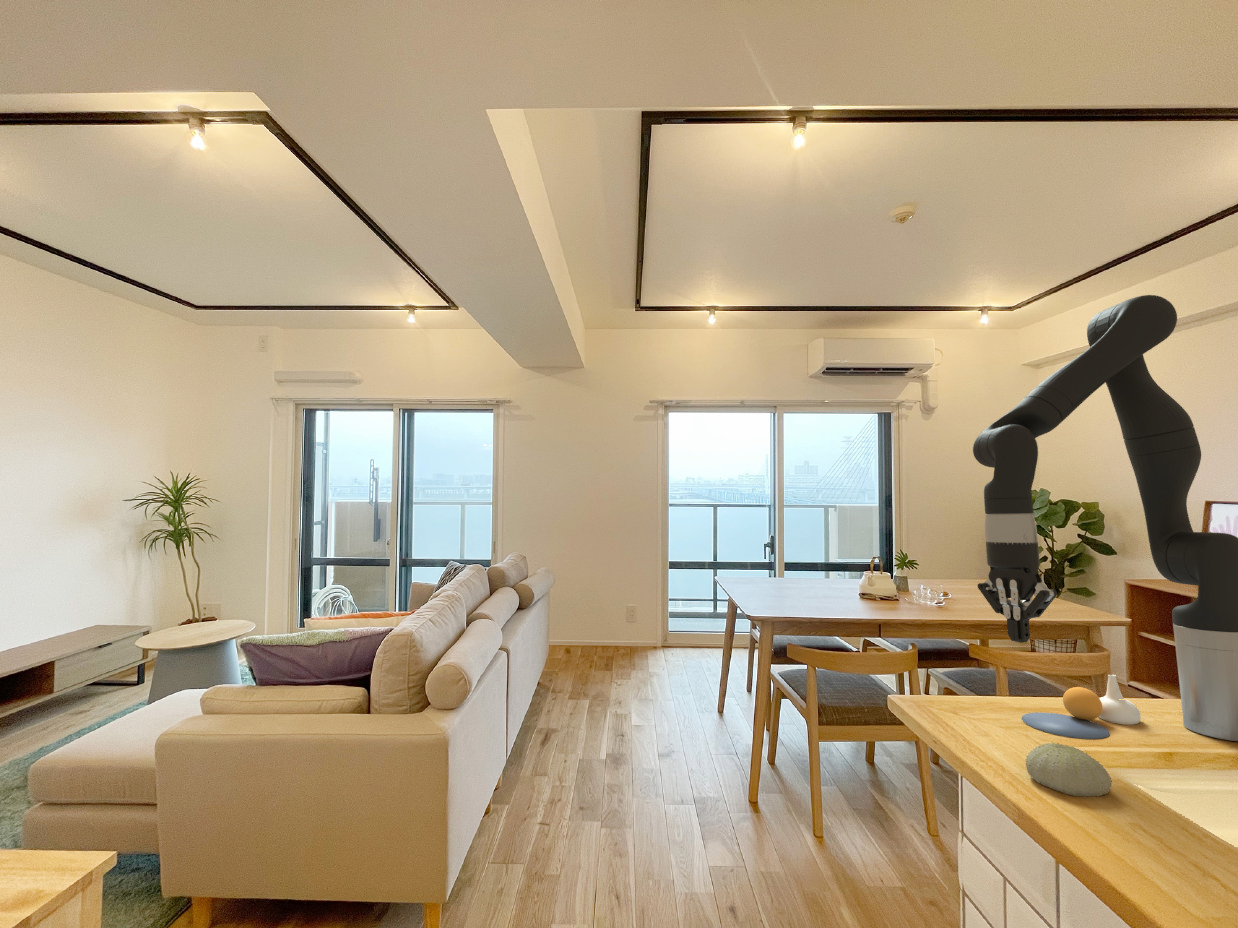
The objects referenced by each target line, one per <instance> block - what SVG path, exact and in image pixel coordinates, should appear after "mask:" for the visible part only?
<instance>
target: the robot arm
mask: <svg viewBox="0 0 1238 928" xmlns="http://www.w3.org/2000/svg"><path fill="white" fill-rule="evenodd" d="M1177 323H1178V314H1177V310H1176V308H1175V306H1174V305H1173V303H1172V302H1171V301H1169V300H1168V299H1167V298H1165V297H1162V296H1159V295H1156V294H1155V295H1154V294H1146V295H1145V294H1144V295H1140V296H1135V297H1133V298H1129V299H1126V300H1124V301H1122V302H1120V303H1117V304H1115V305H1112V306H1110V307H1108V308H1106V309H1103V310H1102V311H1099V312H1098V313H1096V314H1094V315H1093V316H1092V318H1091V319H1090V320H1089V322H1088V325H1087V326H1086V327H1087V328H1086V336H1087V337H1086V338H1087V342H1088V345H1089V347H1088V348H1087V349H1086V350H1085V351H1083V352H1082V353H1080V354H1079V355H1078V356H1077V357H1074V359H1072V360H1070V361H1069V362H1068V363H1066V364H1065V365H1063V366H1061V367H1060V368H1059V369H1058V370H1056V371H1054V372H1053V373H1052V374H1051V375H1049V376H1047V377H1046V378H1045V379H1044V380H1043V381H1041V382H1040V383H1039V384H1038V385H1037V386H1035V388H1034V389H1032V390H1031V391H1030V392H1029V393H1028V394H1027V395H1026V396H1025V397H1024V398H1023V399H1021V401H1020V402H1019V403H1018V404H1017V405H1015V407H1014V408H1012V409H1011V410H1009V411H1008V412H1007V413H1006V414H1004V415H1002V416H1000V418H998V419H997V420H995V421H994V422H993V423H991V424H990V425H989V426H987V428H985V429H984V430H982V432H981V433H979V435H978V436H977V437H976V439H975V441H974V442H973V446H972V453H973V456H974V459H975V460H976V461H977V462H978V463H979V464H981V465H982V466H984V467H987V468H993V477H992V479H991V480H990V481H988V482H987V483H986V484H985V486H984V489H983V501H984V512H985V513H984V514H985V515H984V517H985V518H984V536H985V537H984V538H985V550H986V551H985V552H986V563H987V566H989V568H990V569H989V573H988V579H986V580H985V581H984V582H979V583H977V589H978V590H979V591H980V593H981V594H982V596H983V597H984V599H985V600H986V602H988V604H989V606H990V607H991V608H992V610H993V611H994V613H996V614H1001V615H1003V616H1004V618H1005V619H1006V627H1007V634H1008V637H1009V638H1010V641H1011V642H1015V643H1020V644H1021V643H1022V644H1023V643H1027V642H1028V641H1029V640H1030V638H1031V632H1030V620H1031V619H1035V618H1036V619H1037V618H1040V617H1041V616H1042V615H1043V613H1044V612H1045V611H1046V609H1048V607H1049V606H1050V604H1052V602H1053V601H1054V600H1055V598H1056V597H1057V596H1058V592H1057V591H1056V590H1055V589H1053V588H1052V589H1049V588H1048V587H1047V586H1046V585H1045V584H1044V583H1043V582H1042V581H1043V580H1042V577H1041V575H1040V574H1039V568H1040V565H1041V564H1040V563H1041V562H1040V553H1039V552H1040V549H1039V541H1038V540H1039V539H1038V527H1037V523H1036V519H1035V514H1034V503H1033V492H1032V488H1033V484H1034V480H1035V476H1036V469H1037V465H1038V459H1039V458H1038V457H1039V448H1038V442H1037V440H1036V438H1038V437H1040V436H1042V435H1045V434H1048V433H1049V432H1051V431H1053V430H1054V429H1056V428H1057V427H1058V426H1059V425H1060V424H1062V422H1063V421H1065V420H1066V419H1067V418H1068V417H1069V416H1070V415H1071V414H1072V413H1073V412H1074V411H1076V409H1078V408H1079V406H1081V404H1083V403H1084V402H1085V401H1086V400H1087V399H1088V398H1089V397H1091V396H1092V394H1094V393H1095V392H1096V391H1097V390H1098V389H1099V388H1101V387H1102V386H1103V385H1104V384H1105V385H1106V387H1107V389H1108V392H1109V395H1110V398H1111V402H1112V405H1113V408H1114V410H1115V413H1116V417H1117V420H1118V422H1119V425H1120V430H1121V434H1122V439H1123V442H1124V445H1125V449H1126V452H1127V455H1128V459H1129V461H1130V464H1131V467H1132V470H1133V474H1134V476H1135V480H1136V483H1137V488H1138V492H1139V495H1140V499H1141V503H1142V507H1143V512H1144V517H1145V524H1146V525H1145V526H1146V531H1147V536H1148V537H1147V538H1148V542H1149V549H1150V553H1151V557H1152V560H1153V563H1154V565H1155V567H1156V569H1157V571H1158V572H1159V574H1160V575H1161V576H1162V578H1165V579H1166V580H1167V581H1169V582H1172V583H1176V584H1182V585H1190V586H1197V590H1198V591H1197V598H1196V599H1195V600H1194V601H1192V602H1190V603H1187V604H1183V605H1177V606H1175V607H1174V608H1173V609H1172V611H1171V616H1172V617H1171V619H1172V627H1173V636H1174V643H1175V654H1176V664H1177V673H1178V683H1179V691H1180V701H1181V702H1180V703H1181V711H1182V712H1181V713H1182V721H1183V723H1182V724H1183V726H1184V727H1185V728H1186V729H1188V730H1190V731H1192V732H1194V733H1198V734H1201V735H1203V736H1207V737H1210V738H1211V737H1212V738H1216V739H1221V740H1224V741H1225V740H1226V741H1232V742H1233V741H1234V742H1238V537H1237V536H1236V535H1233V534H1230V533H1225V532H1208V531H1207V532H1206V531H1205V532H1204V531H1203V532H1202V531H1201V532H1200V531H1194V530H1193V527H1192V524H1191V521H1190V518H1189V512H1188V507H1187V502H1188V501H1187V500H1188V496H1189V492H1190V489H1191V487H1192V485H1193V482H1194V480H1195V478H1196V476H1197V473H1198V471H1199V468H1200V465H1201V461H1202V449H1201V446H1200V442H1199V439H1198V436H1197V435H1198V434H1197V432H1196V429H1195V425H1194V422H1193V420H1192V418H1191V416H1190V415H1189V413H1188V412H1187V411H1186V409H1184V407H1182V405H1181V404H1180V403H1178V401H1176V400H1175V399H1174V397H1172V396H1170V395H1169V393H1167V391H1165V390H1163V389H1162V388H1161V386H1159V385H1158V384H1157V383H1156V381H1155V380H1154V379H1153V377H1152V375H1151V374H1150V371H1149V369H1148V366H1147V363H1146V361H1145V358H1144V354H1146V353H1147V352H1149V351H1151V350H1152V349H1153V348H1155V347H1156V346H1158V345H1160V344H1161V343H1162V342H1164V341H1165V340H1167V339H1168V338H1169V337H1170V335H1172V333H1174V330H1175V329H1176V326H1177ZM1033 596H1034V597H1033Z"/></svg>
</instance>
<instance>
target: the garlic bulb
mask: <svg viewBox="0 0 1238 928" xmlns="http://www.w3.org/2000/svg"><path fill="white" fill-rule="evenodd" d="M1099 699H1100V700H1101V703H1102V713H1101V714H1100V716H1099V717H1098V718H1099V719H1101V720H1103V721H1106V722H1109V723H1112V724H1113V723H1114V724H1119V725H1126V726H1127V725H1129V726H1131V725H1133V726H1134V725H1137V724H1139V723H1140V721H1141V719H1142V718H1141V717H1142V716H1141V713H1140V710H1139V708H1138V707H1137V706H1136V704H1134V703H1133V702H1131V701H1130V700H1128V699H1126V700H1119V699H1125V698H1124V697H1123V695H1122V693H1121V690H1120V686H1119V683H1118V679H1117V675H1116V674H1108V675H1107V685H1106V692H1105V695H1104V696H1101V697H1099Z"/></svg>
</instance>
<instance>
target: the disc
mask: <svg viewBox="0 0 1238 928" xmlns="http://www.w3.org/2000/svg"><path fill="white" fill-rule="evenodd" d="M1022 720H1023V721H1022ZM1021 721H1022V722H1023V723H1024V724H1025V723H1026V724H1025V725H1027V726H1028V727H1030V728H1033V729H1035V728H1036V729H1035V730H1038V731H1042V732H1043V733H1044V732H1045V733H1048V734H1052V735H1056V736H1060V737H1067V738H1072V739H1073V738H1074V739H1080V738H1082V739H1083V740H1100V739H1105V738H1107V737H1109V736H1110V734H1111V733H1110V731H1109V729H1108V728H1107V727H1105V725H1104V726H1103V725H1101V724H1099V723H1097V722H1095V721H1092V720H1082V719H1079V718H1076V717H1074V716H1073V715H1067V714H1062V713H1061V714H1060V713H1055V712H1054V713H1053V712H1028V713H1025V714H1023V715H1022V716H1021ZM1082 739H1081V740H1082Z"/></svg>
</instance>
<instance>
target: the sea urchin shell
mask: <svg viewBox="0 0 1238 928" xmlns="http://www.w3.org/2000/svg"><path fill="white" fill-rule="evenodd" d="M1025 768H1026V771H1027V773H1028V775H1029V776H1030V777H1031V778H1032V779H1033V780H1034V781H1036V782H1037V783H1038V784H1041V785H1043V786H1044V787H1047V788H1051V789H1053V790H1054V791H1057V792H1059V793H1063V794H1065V795H1068V796H1073V797H1096V798H1097V797H1100V796H1103V795H1107V794H1108V793H1109V791H1111V788H1112V783H1113V782H1112V777H1111V776H1110V774H1109V772H1108V771H1107V769H1106V768H1105V767H1104V765H1103V764H1101V763H1100V761H1098V760H1096V759H1095V758H1093V757H1092V756H1091V755H1089V754H1088V753H1087V752H1084V751H1083V750H1081V749H1079V748H1076V747H1075V746H1070V745H1068V744H1061V743H1056V742H1051V743H1050V742H1049V743H1043V744H1041V745H1038V746H1035V748H1033V749H1032V750H1031V751H1029V752H1028V754H1027V755H1026V758H1025Z"/></svg>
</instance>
